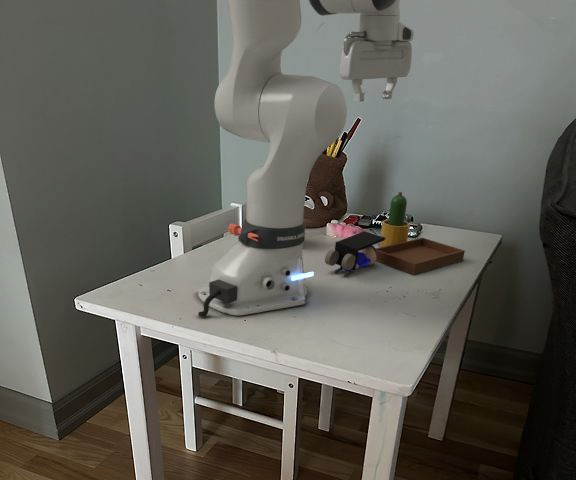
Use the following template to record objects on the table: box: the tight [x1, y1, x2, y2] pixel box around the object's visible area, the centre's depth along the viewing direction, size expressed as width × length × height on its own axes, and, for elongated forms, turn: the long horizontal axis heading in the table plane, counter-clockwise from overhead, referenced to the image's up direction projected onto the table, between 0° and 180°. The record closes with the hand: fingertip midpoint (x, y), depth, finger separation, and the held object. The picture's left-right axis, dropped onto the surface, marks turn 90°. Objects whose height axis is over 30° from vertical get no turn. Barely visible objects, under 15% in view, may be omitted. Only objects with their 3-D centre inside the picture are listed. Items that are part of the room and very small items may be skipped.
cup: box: [379, 219, 411, 247], centre depth 143 cm, size 7×7×6 cm
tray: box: [375, 237, 466, 276], centre depth 135 cm, size 19×13×3 cm
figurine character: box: [324, 230, 385, 277], centre depth 125 cm, size 7×8×15 cm
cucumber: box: [387, 191, 408, 226], centre depth 141 cm, size 4×4×13 cm
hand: (373, 100), depth 131 cm, fingers open, 8 cm apart
